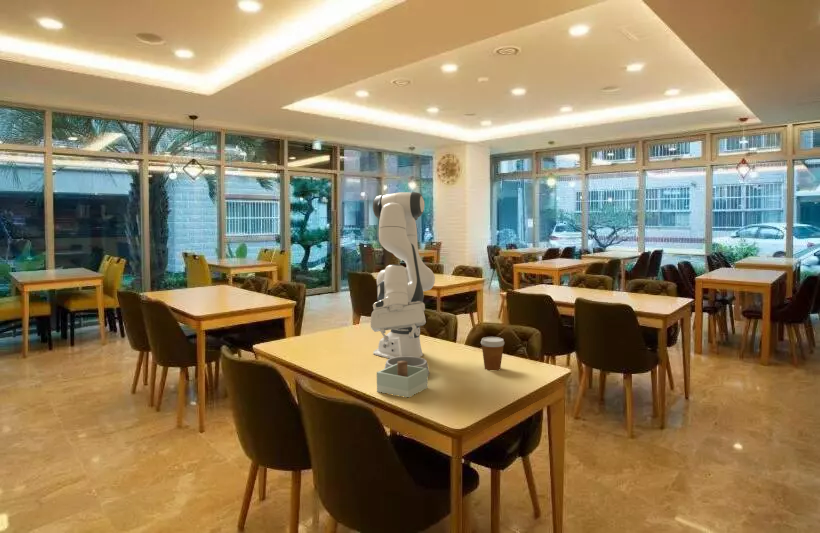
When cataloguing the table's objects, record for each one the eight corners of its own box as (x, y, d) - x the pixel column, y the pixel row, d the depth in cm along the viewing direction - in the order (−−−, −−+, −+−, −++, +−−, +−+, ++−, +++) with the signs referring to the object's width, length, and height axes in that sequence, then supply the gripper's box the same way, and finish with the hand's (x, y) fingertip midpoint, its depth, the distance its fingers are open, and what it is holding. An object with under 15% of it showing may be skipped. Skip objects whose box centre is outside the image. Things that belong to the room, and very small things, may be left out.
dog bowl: (402, 365, 218) (402, 352, 217) (438, 373, 206) (438, 360, 206) (374, 375, 205) (374, 361, 204) (411, 384, 193) (410, 370, 193)
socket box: (376, 391, 184) (376, 372, 184) (397, 381, 195) (397, 363, 195) (408, 398, 177) (407, 378, 177) (427, 387, 188) (427, 368, 188)
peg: (395, 390, 186) (395, 362, 185) (401, 387, 189) (400, 360, 188) (404, 391, 184) (403, 364, 183) (409, 389, 187) (409, 361, 186)
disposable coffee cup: (486, 373, 205) (486, 342, 204) (476, 366, 214) (476, 337, 213) (508, 370, 208) (508, 341, 206) (498, 364, 217) (498, 335, 216)
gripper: (425, 303, 197) (428, 338, 191) (373, 310, 200) (374, 345, 194) (422, 297, 191) (425, 332, 185) (368, 304, 195) (369, 340, 188)
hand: (398, 339), depth 190 cm, fingers open, 8 cm apart
